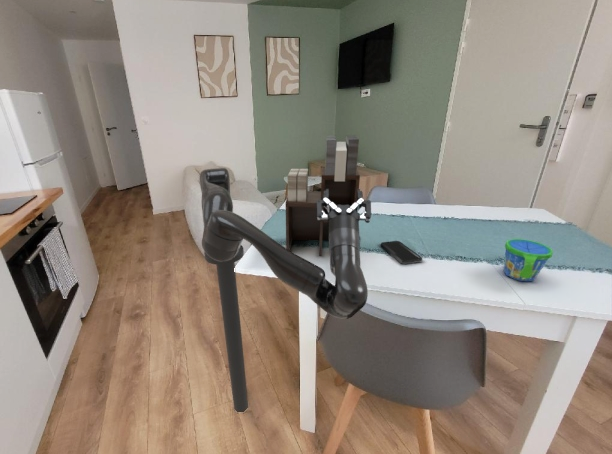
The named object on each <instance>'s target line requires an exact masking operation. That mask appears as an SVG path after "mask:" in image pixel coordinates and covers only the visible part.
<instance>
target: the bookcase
mask: <svg viewBox="0 0 612 454" xmlns="http://www.w3.org/2000/svg"><path fill="white" fill-rule="evenodd" d="M337 142H338V140H337V137H336V135H326V136H325V162H324V163H325V164H324V166H321V176H320V177H321V180H320V191H317V190H316V191H314V190H313V191H312V190H311V191H310V190H309V168H291V169H290V170H289V172H288V174H287V197H286V200H285V248H286V249H288V250H289V251H291V249H292V248H291V247H292V243H293V241H315V242H316V241H317V242H318V257H323V242H329V221H328V220H327V219H322V221H320V222H319V221H317V200H318V199H320V200H322V199H323V194H324V191H326V189H329V200H330V201H331V202H333V203H334V204H335V205H336V206H337V205H349V206H352V205H353V204H354V203H355V202H357V196H356V193H357V189H360V179H361V174H360V172H359V171H358V169H357V168H358V157H359V156H358V155H359V143H360V139H359V138H358V137H357V136H356V135H355V134H354V135H352V134H351V135H346V136H345V142H346V148H347V156H346V171H345V181H334V179H335V160H336V145H337ZM322 211H324V212H325V214H326V215H327V214H328V213H329V212H328V211H327V209H326V208H325V207H324V206H322Z"/></svg>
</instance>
